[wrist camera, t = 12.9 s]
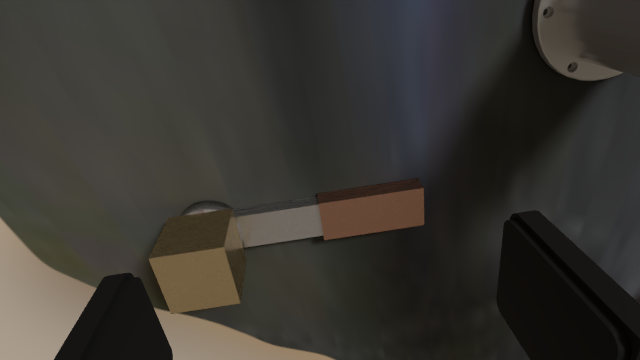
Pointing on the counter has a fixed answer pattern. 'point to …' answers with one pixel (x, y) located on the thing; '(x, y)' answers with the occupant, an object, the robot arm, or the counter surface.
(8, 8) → the counter surface
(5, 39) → the counter surface
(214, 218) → the mustard yellow cube
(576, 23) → the robot arm
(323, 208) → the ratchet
